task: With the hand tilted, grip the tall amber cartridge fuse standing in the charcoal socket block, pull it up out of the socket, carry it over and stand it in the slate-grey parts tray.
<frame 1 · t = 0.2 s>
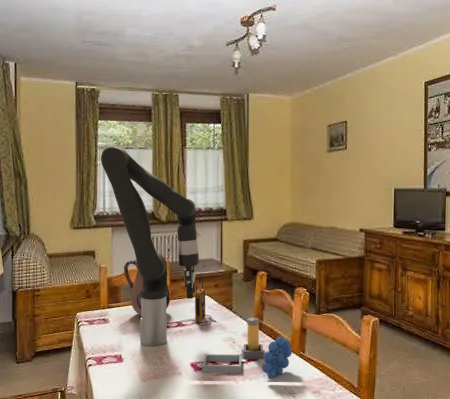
hand: (191, 295, 158), 18 cm above the table, tool pointing down, fingers open, 8 cm apart
ceramic pitcher: (147, 314, 194), on the table
tray: (222, 368, 136), on the table
socket block: (253, 356, 145), on the table
grapes: (275, 375, 131), on the table
fuse: (253, 354, 145), point 1 cm above the table, touching socket block
multimeter: (208, 321, 185), on the table
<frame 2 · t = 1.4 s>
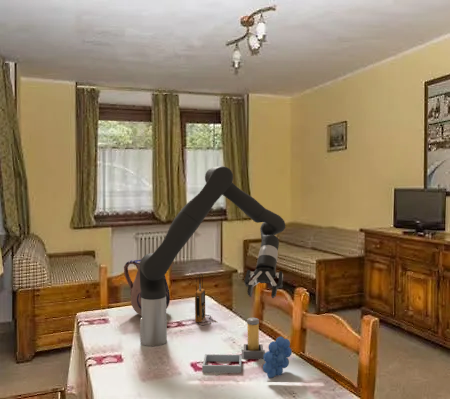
hand: (261, 296, 156), 18 cm above the table, tool tilted 45°, fingers open, 8 cm apart
nothing on the table moved.
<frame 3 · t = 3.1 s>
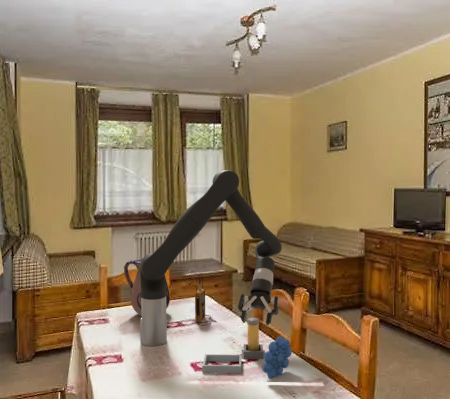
hand: (255, 323, 148), 11 cm above the table, tool tilted 45°, fingers open, 8 cm apart
nothing on the table moved.
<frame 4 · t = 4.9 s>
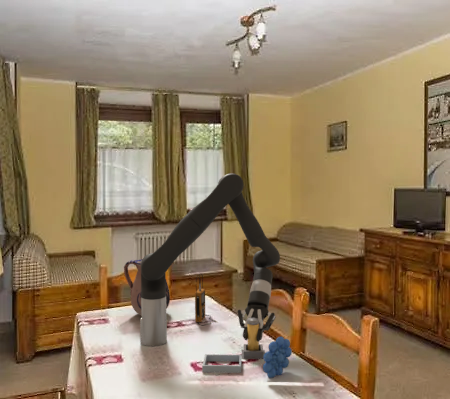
hand: (251, 339, 143), 7 cm above the table, tool tilted 45°, fingers closed on fuse, 3 cm apart
fuse: (253, 354, 145), point 1 cm above the table, touching gripper, socket block
everything else where it was.
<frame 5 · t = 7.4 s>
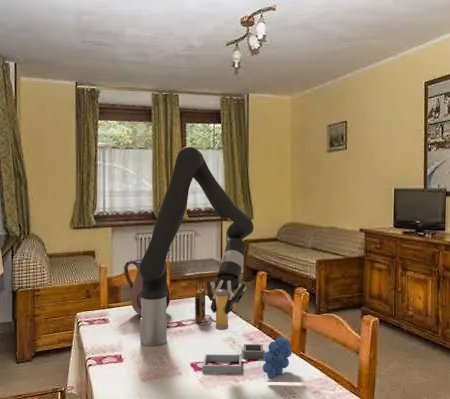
hand: (220, 311, 134), 19 cm above the table, tool tilted 45°, fingers closed on fuse, 3 cm apart
fuse: (222, 327, 136), point 13 cm above the table, touching gripper
everything else where it was.
when the fingers open (7 cm above the table, at t = 9.9 s): fuse drops 1 cm, resting on tray.
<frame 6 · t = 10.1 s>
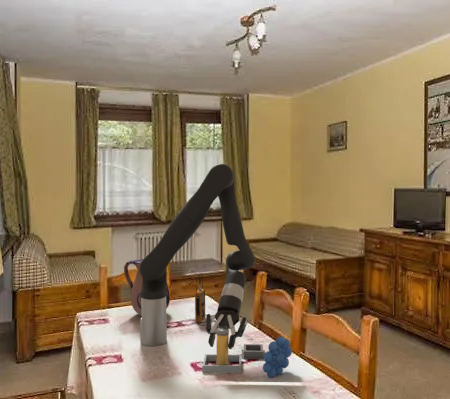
hand: (220, 346, 134), 8 cm above the table, tool tilted 45°, fingers open, 5 cm apart
fuse: (222, 366, 136), point 1 cm above the table, touching tray
everything else where it was.
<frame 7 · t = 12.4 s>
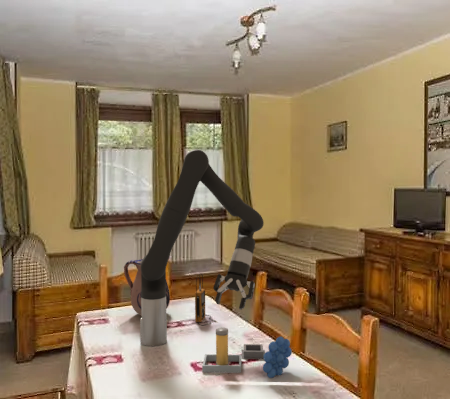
hand: (228, 306, 149), 16 cm above the table, tool tilted 30°, fingers open, 8 cm apart
nothing on the table moved.
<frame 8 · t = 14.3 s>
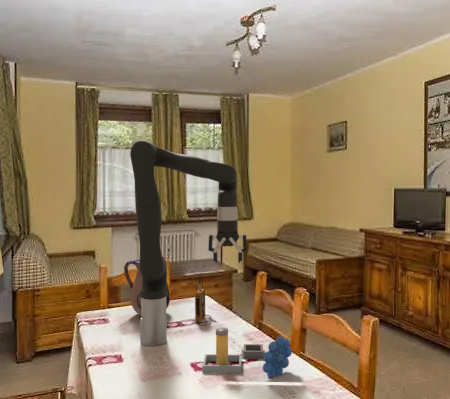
hand: (227, 262, 157), 30 cm above the table, tool pointing down, fingers open, 8 cm apart
nothing on the table moved.
at the end: fuse inside the target area on the tray (0.1 cm from its centre), point 0.6 cm above the tray's base; fuse touching tray; the gripper is holding nothing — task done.
